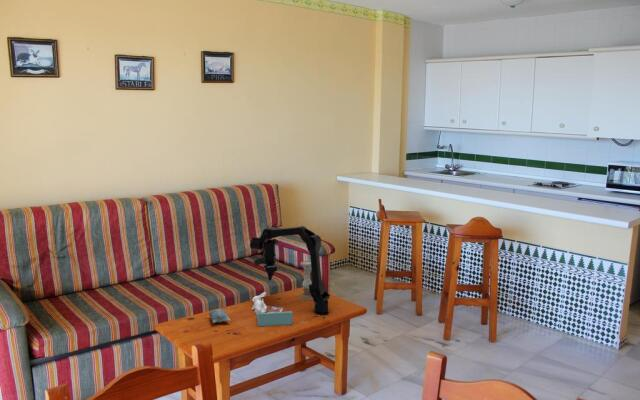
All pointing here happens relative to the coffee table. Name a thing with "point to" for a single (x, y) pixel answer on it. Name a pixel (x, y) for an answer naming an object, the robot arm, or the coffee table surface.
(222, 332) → the coffee table surface
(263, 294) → the rabbit figurine
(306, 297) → the candle holder
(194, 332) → the coffee table surface
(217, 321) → the packaged food
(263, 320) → the display stand
